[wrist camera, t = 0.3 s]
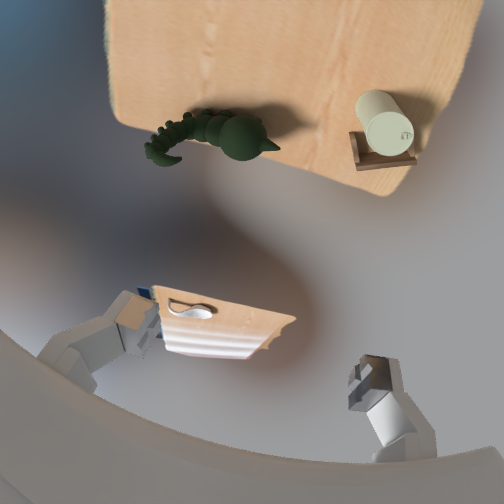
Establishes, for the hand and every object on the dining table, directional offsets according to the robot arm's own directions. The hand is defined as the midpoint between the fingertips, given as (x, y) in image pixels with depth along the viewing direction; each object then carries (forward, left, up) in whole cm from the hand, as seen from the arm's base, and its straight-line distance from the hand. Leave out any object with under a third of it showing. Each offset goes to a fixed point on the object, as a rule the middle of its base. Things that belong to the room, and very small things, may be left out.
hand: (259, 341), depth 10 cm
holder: (-2, +27, -51) cm, 58 cm away
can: (-5, +19, -51) cm, 55 cm away
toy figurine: (+22, +2, -52) cm, 56 cm away
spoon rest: (+109, +49, -52) cm, 130 cm away
